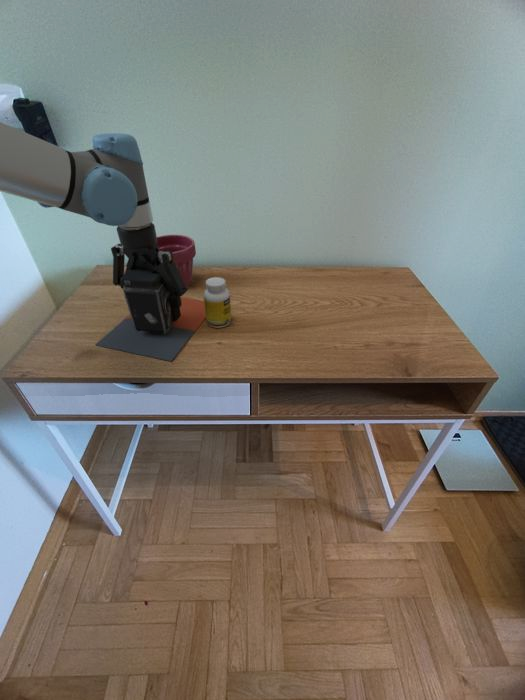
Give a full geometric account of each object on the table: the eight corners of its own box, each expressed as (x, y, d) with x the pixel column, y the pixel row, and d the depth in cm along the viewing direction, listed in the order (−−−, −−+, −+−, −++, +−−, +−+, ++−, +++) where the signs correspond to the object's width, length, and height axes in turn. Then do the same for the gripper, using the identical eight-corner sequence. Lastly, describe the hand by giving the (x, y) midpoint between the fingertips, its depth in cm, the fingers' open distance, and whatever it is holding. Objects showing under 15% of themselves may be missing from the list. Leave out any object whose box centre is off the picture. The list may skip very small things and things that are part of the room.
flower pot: (177, 298, 93) (169, 256, 84) (143, 286, 98) (133, 245, 90) (208, 279, 102) (204, 240, 94) (175, 269, 108) (169, 231, 100)
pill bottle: (222, 331, 80) (219, 290, 73) (201, 324, 83) (196, 284, 75) (236, 318, 85) (234, 279, 78) (215, 312, 87) (211, 273, 80)
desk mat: (95, 345, 75) (95, 344, 75) (154, 293, 95) (154, 292, 95) (171, 362, 71) (171, 361, 71) (216, 304, 91) (216, 303, 90)
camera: (184, 313, 85) (175, 259, 76) (171, 337, 77) (159, 280, 67) (146, 310, 86) (132, 257, 76) (130, 334, 78) (112, 277, 68)
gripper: (194, 224, 66) (205, 314, 80) (99, 213, 71) (125, 299, 85) (177, 236, 60) (191, 330, 74) (74, 223, 65) (106, 314, 79)
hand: (156, 314), depth 80 cm, fingers closed on camera, 11 cm apart
